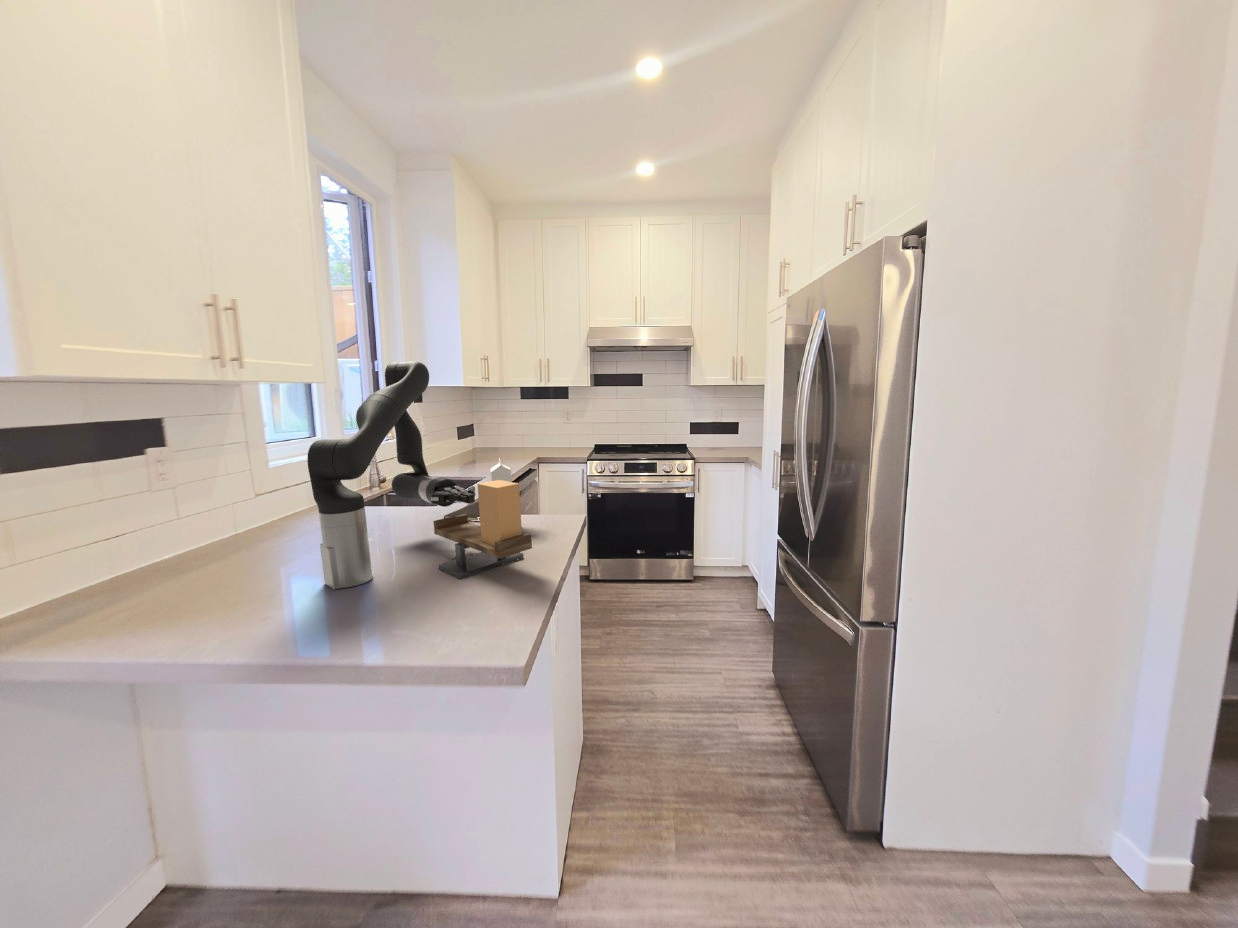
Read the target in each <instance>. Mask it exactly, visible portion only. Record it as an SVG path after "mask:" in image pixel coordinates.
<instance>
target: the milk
mask: <svg viewBox="0 0 1238 928" xmlns="http://www.w3.org/2000/svg"><path fill="white" fill-rule="evenodd" d="M498 460H499V461H498V463H497V464H495V465H494V466H492V467H491V468H490V470H489V472H490V481H496V480H503V481H508V482H513V481H512V479H513V478H512V469H511V468H510V467H509V466H507V465H506V464H503V463H502V462H501V459H500V457H499V458H498Z"/></svg>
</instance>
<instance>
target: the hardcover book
mask: <svg viewBox="0 0 1238 928" xmlns="http://www.w3.org/2000/svg"><path fill="white" fill-rule="evenodd" d="M462 514H466V515H467V518H468V520H478V518H477V517H480V513H479V501H477V502H474V503H470V504H468V505H467V506H465V507H462V508H459V509H457V510H454V511H452V512H449V513H447V514H444V515H443V519H444V518H449V517H453V516H457V515H462ZM479 520H480V518H479Z"/></svg>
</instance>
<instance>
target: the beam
mask: <svg viewBox="0 0 1238 928" xmlns="http://www.w3.org/2000/svg"><path fill="white" fill-rule="evenodd" d="M432 522H433V531H434V533H433V534H434V535H437V536H440V537H442V538H444V539H447V540H450V541H452V542H455V543H456V544H457V543H461V544H464V545H465V550H466V549H469V548H471V549H473V550H476V551H479V552H484V553H486V554H489V555H491V556H494V557H497V558H499V559H500V558H503V557H506V556H509V555H512V554H516V553H519V552H520V553H522V552H524V551H528V550H531V549H532V548H533V543H532V533H529V532H526V533H522V534H521V535H518V536H515V537H511V538H508V539H504V540H501V541H497V542H495V546H494V545H491V544H488V543H485V542H482V541H481V527H480V525H479V524H476V523H472V522H471V521H468V518H467V515H466V514H462V515H457V516H453V517H449V518H444V517H443V518H440V519H436V520H433V521H432Z"/></svg>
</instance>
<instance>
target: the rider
mask: <svg viewBox="0 0 1238 928" xmlns="http://www.w3.org/2000/svg"><path fill="white" fill-rule="evenodd" d="M476 485H477V495H478V496H477V498H478V499H477V500H478V502H479V513H480V522H479V524H480V525H479V526H480V527H481V541H482V542H485V543H488V544H491V545H494V546H495V542H497V541H501V540H504V539H508V538H511V537H515V536H518V535H521V534H523V533H522V532H523V530H522V529H523V528H522V513H521V497H520V495H521V494H520V493H521V492H520V483H518V482H513V481H512V482H508V481H503V480H496V481H491V480H489V481H485V482H481V483H477V484H476Z"/></svg>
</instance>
